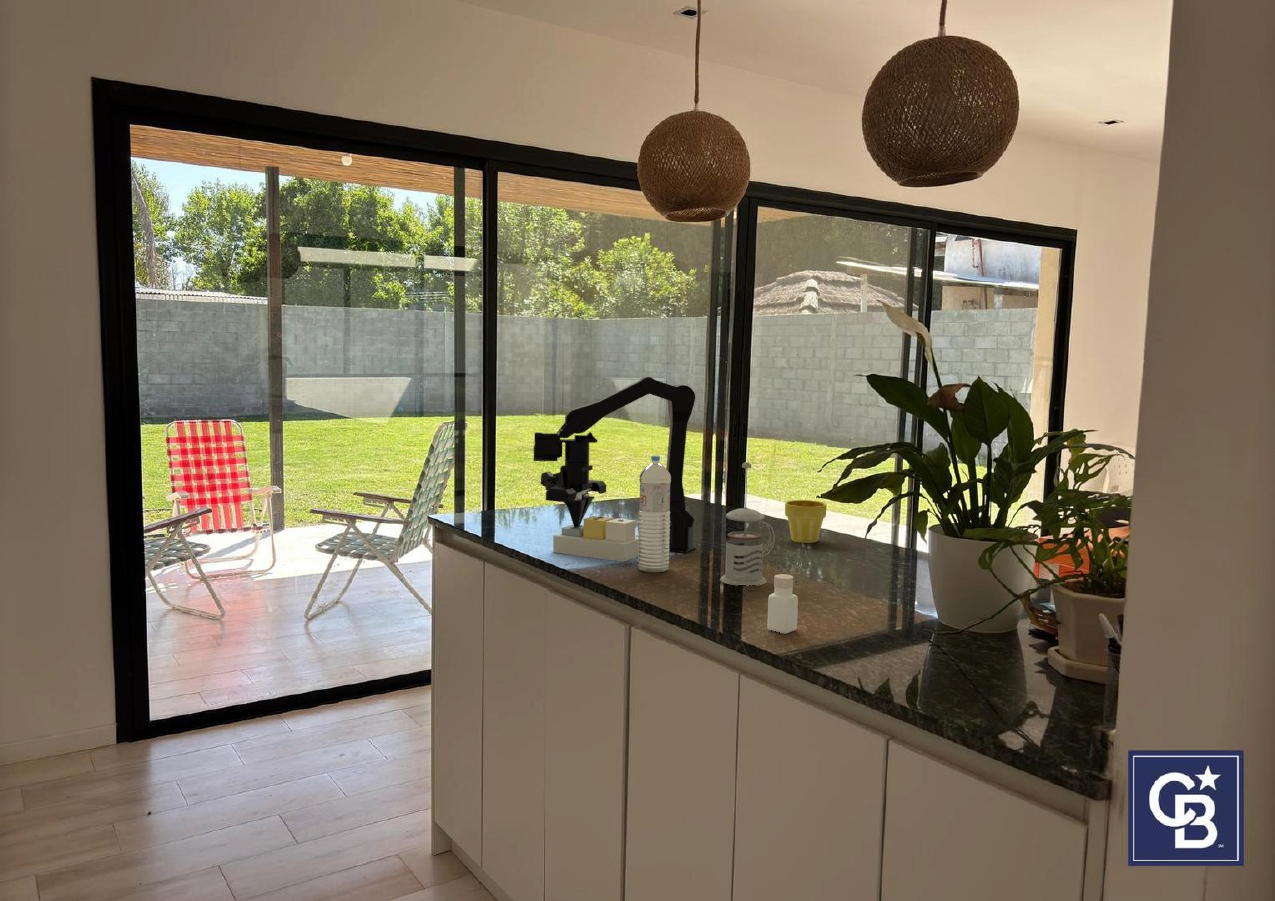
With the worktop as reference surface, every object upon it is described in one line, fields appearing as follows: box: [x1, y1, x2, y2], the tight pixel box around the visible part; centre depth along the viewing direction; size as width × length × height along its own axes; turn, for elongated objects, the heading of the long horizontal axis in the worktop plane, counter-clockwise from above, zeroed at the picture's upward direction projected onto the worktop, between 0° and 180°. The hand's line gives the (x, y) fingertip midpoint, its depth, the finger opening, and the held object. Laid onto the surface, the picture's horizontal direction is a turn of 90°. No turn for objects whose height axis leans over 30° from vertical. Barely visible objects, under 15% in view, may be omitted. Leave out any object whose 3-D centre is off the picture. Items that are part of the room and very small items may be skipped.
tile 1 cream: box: [606, 518, 636, 543], centre depth 217 cm, size 5×5×5 cm
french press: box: [719, 461, 776, 587], centre depth 196 cm, size 10×12×25 cm
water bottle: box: [637, 455, 671, 574], centre depth 204 cm, size 7×7×25 cm
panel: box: [552, 532, 639, 563], centre depth 220 cm, size 19×9×4 cm, turn 63°
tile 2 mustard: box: [583, 515, 614, 540], centre depth 220 cm, size 5×5×5 cm
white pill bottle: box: [766, 573, 799, 635], centre depth 161 cm, size 4×4×10 cm
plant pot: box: [784, 499, 827, 544], centre depth 239 cm, size 10×10×10 cm
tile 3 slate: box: [561, 524, 584, 537], centre depth 223 cm, size 5×5×5 cm
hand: (576, 526), depth 222 cm, fingers closed, pressing on tile 3 slate
